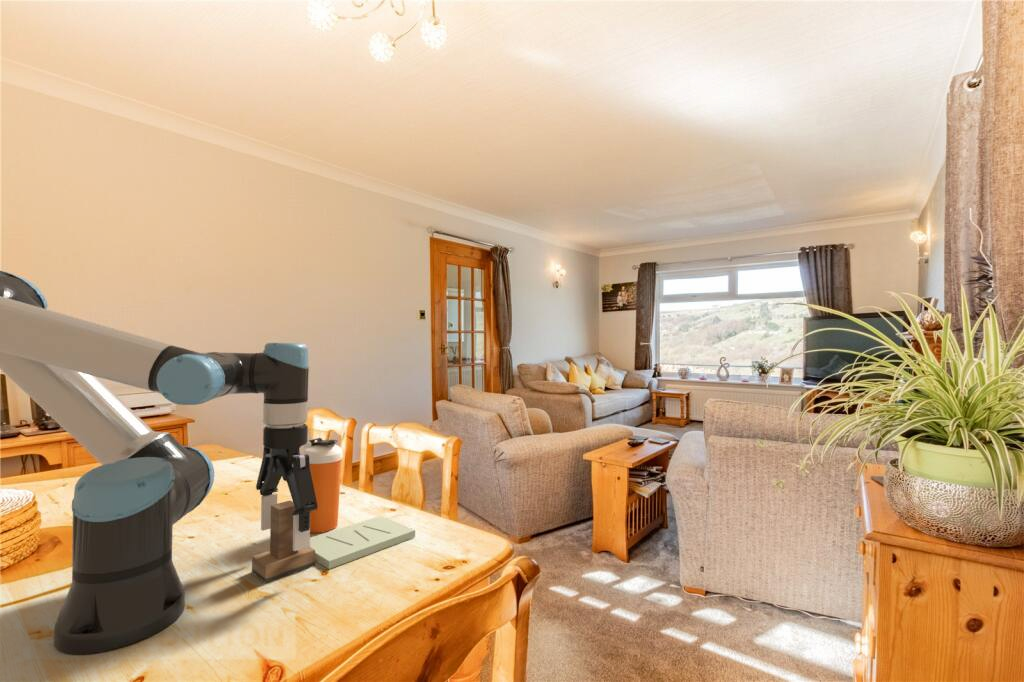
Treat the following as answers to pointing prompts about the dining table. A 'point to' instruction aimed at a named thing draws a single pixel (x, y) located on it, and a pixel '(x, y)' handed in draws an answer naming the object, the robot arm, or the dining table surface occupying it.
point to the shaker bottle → (324, 482)
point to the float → (281, 548)
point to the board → (358, 540)
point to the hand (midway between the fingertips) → (284, 538)
